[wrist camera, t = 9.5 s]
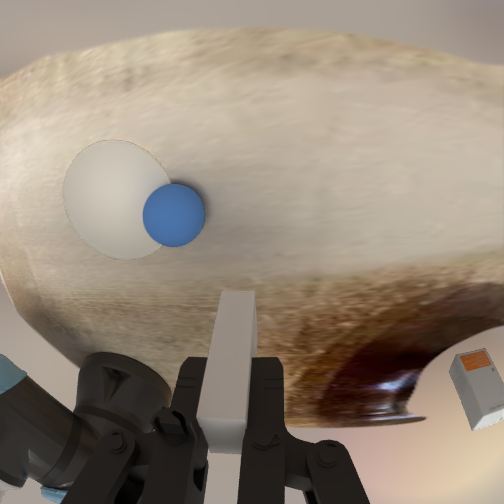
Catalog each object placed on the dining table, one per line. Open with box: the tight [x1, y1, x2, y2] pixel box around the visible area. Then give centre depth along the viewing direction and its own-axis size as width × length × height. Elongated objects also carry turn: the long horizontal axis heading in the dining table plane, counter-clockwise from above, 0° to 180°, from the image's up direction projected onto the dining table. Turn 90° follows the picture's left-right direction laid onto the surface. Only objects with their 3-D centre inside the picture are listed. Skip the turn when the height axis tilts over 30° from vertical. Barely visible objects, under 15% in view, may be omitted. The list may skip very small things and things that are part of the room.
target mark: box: [63, 140, 172, 260], centre depth 30 cm, size 13×13×1 cm
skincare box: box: [449, 348, 504, 431], centre depth 35 cm, size 6×4×12 cm
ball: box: [143, 184, 205, 247], centre depth 28 cm, size 6×6×6 cm
